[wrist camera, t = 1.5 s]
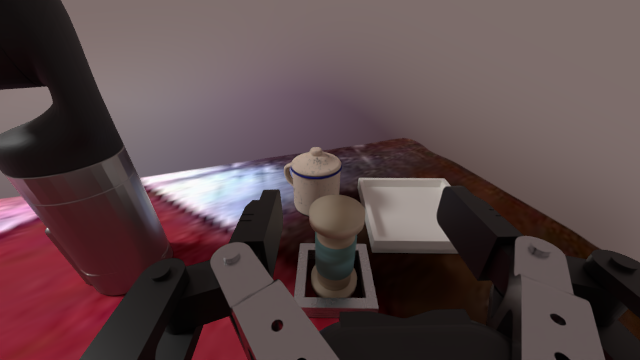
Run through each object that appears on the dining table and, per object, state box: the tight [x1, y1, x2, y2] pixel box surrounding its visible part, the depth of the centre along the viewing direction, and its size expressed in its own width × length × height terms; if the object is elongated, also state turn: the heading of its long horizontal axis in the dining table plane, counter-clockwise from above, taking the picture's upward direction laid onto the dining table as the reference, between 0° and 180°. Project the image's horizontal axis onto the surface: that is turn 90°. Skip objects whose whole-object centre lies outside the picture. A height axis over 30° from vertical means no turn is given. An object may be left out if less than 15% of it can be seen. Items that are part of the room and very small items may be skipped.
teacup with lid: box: [284, 147, 342, 216], centre depth 44 cm, size 12×9×12 cm
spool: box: [309, 195, 365, 298], centre depth 28 cm, size 6×6×12 cm
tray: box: [358, 178, 459, 254], centre depth 43 cm, size 18×18×2 cm
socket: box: [294, 243, 379, 318], centre depth 31 cm, size 10×10×2 cm
